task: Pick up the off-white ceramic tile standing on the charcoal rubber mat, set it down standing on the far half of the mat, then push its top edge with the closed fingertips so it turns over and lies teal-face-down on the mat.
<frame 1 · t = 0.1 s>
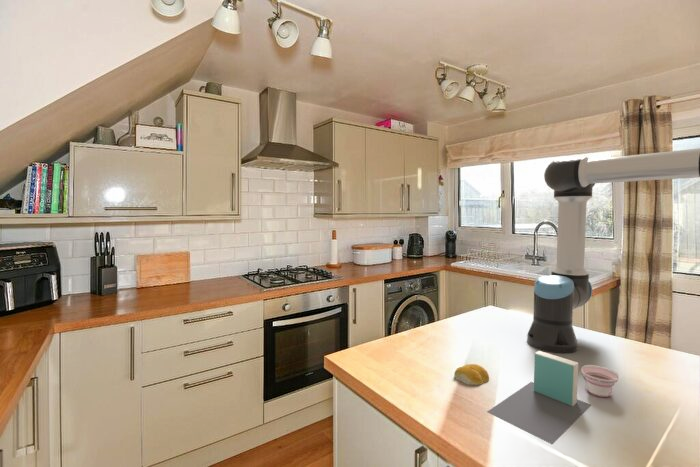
teacup: (597, 396, 87), on the table
bread roll: (471, 380, 95), on the table
tile: (554, 396, 85), point 1 cm above the table, touching mat
mat: (540, 410, 80), on the table
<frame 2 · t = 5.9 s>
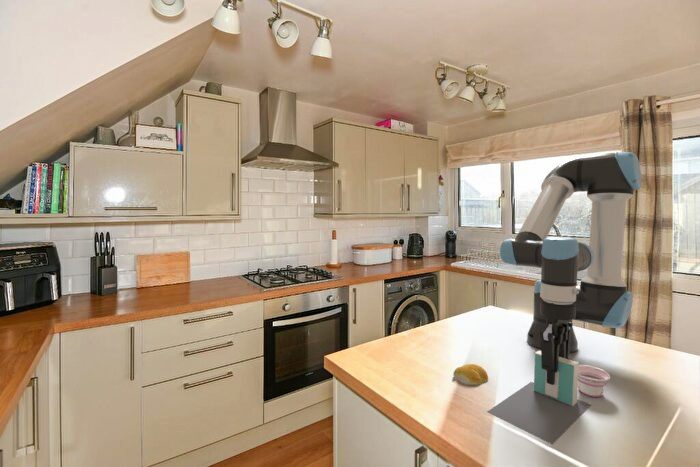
hand: (554, 392, 85), 2 cm above the table, fingers closed on tile, 3 cm apart
teacup: (589, 396, 87), on the table
tile: (554, 396, 85), point 1 cm above the table, touching gripper, mat
everything else where it was.
when the fingers open (2 cm above the table, at t = 10.8 s): tile stays where it is, resting on mat.
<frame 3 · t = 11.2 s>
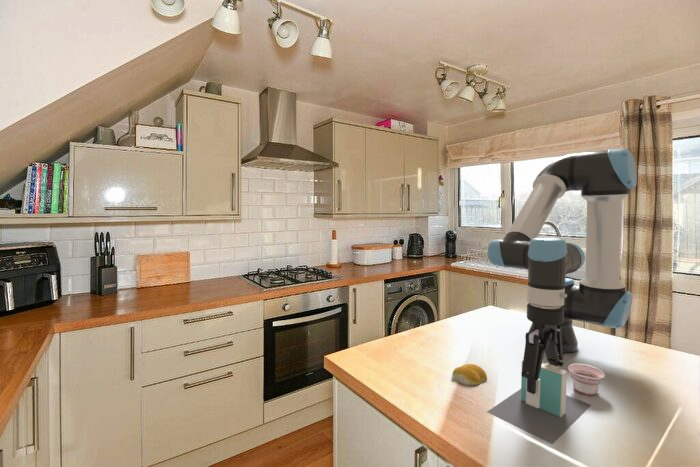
hand: (542, 397, 81), 3 cm above the table, fingers open, 9 cm apart
teacup: (584, 394, 88), on the table
tile: (542, 406, 81), point 1 cm above the table, touching mat
everything else where it was.
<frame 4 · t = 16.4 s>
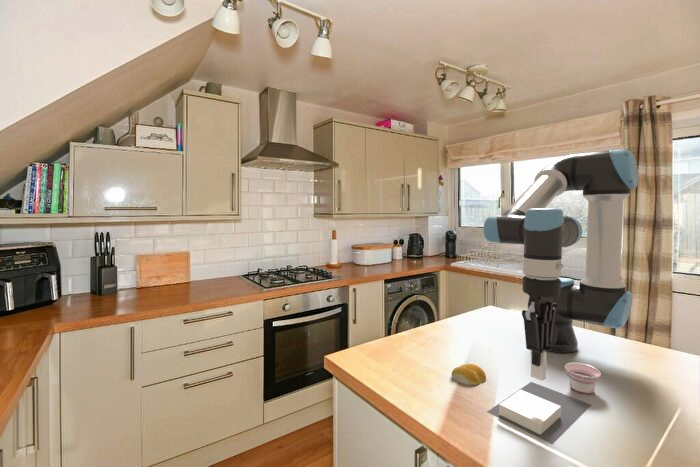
hand: (538, 377, 79), 9 cm above the table, fingers closed
tile: (539, 402, 80), point 2 cm above the table, tilted 90°, touching mat
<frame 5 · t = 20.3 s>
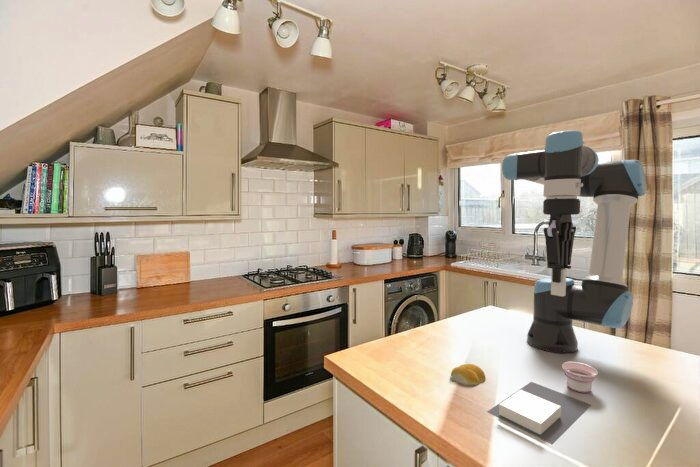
hand: (558, 294, 83), 26 cm above the table, fingers closed
at the end: tile tilted 90°; tile inside the target area on the mat (2.2 cm from its centre), point 2.1 cm above the mat's base; the gripper is holding nothing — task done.
